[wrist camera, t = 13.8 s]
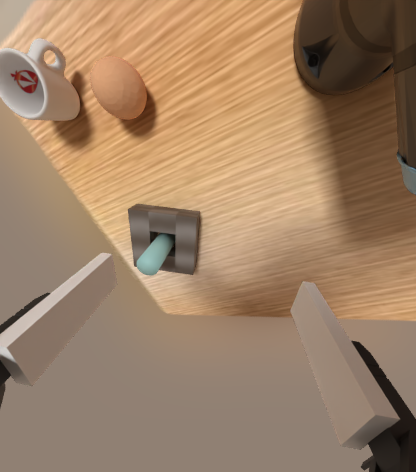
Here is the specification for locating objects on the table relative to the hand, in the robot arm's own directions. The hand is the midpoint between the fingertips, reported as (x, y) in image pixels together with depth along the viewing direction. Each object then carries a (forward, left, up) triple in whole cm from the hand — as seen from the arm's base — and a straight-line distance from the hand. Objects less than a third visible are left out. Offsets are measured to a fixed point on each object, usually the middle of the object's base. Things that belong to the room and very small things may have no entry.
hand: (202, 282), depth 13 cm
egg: (-15, -17, -27) cm, 35 cm away
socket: (+11, -11, -27) cm, 31 cm away
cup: (-15, -29, -27) cm, 42 cm away
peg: (+11, -11, -27) cm, 31 cm away
